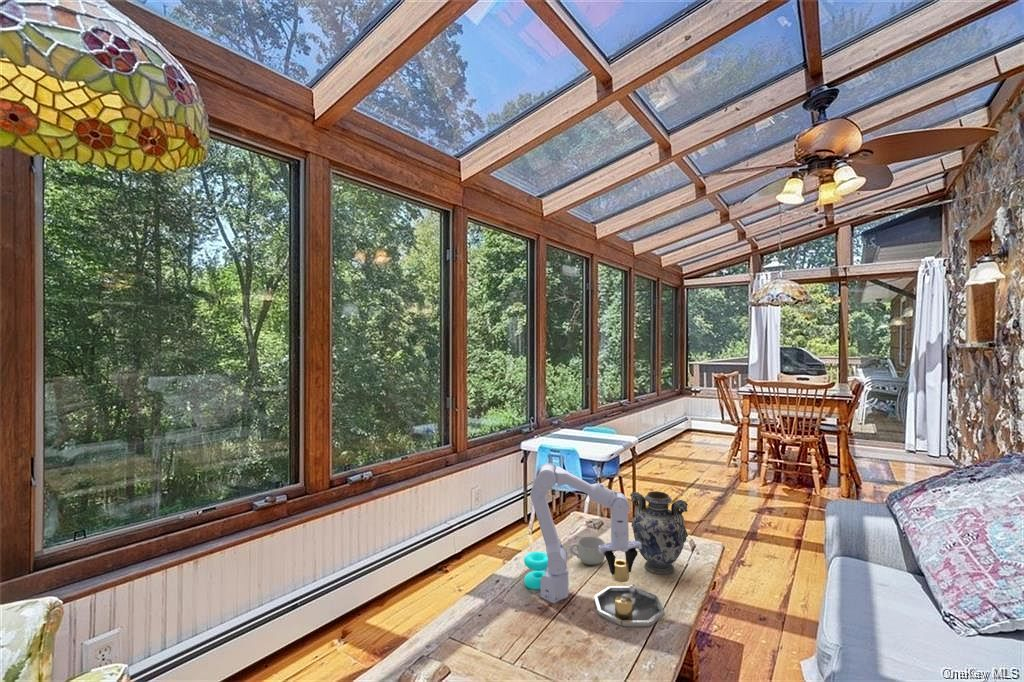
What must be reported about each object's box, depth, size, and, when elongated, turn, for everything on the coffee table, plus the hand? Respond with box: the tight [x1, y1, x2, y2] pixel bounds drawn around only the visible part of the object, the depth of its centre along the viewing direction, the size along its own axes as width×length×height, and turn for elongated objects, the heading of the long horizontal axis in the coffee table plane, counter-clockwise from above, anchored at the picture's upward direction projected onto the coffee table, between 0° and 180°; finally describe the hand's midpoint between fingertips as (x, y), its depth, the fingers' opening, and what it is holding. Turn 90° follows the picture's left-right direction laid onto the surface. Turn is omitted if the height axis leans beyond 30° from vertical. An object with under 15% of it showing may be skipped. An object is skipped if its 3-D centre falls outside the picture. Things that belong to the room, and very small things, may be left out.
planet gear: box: [611, 558, 630, 583], centre depth 156 cm, size 5×5×5 cm
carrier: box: [593, 583, 665, 628], centre depth 151 cm, size 21×21×7 cm
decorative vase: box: [629, 491, 689, 576], centre depth 178 cm, size 21×19×28 cm
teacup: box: [569, 535, 607, 567], centre depth 184 cm, size 14×11×8 cm
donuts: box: [523, 551, 548, 590], centre depth 167 cm, size 10×10×10 cm
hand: (620, 572), depth 156 cm, fingers open, 5 cm apart
